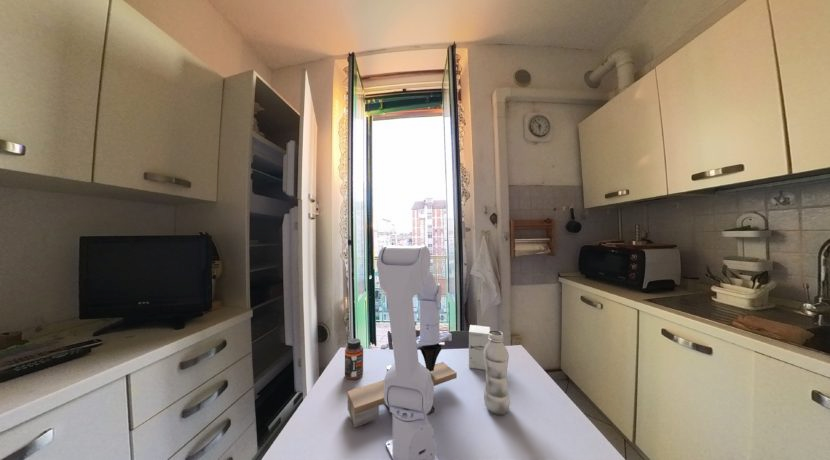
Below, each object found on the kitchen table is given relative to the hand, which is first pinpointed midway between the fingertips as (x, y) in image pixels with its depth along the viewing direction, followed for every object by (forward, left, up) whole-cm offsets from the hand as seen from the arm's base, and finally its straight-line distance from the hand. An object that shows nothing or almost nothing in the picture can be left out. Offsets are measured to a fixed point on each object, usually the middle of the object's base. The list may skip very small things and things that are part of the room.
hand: (429, 369), depth 71 cm
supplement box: (+5, -24, -7) cm, 26 cm away
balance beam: (0, +8, -6) cm, 10 cm away
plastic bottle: (-14, -12, -7) cm, 20 cm away
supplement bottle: (+20, +17, -7) cm, 27 cm away
